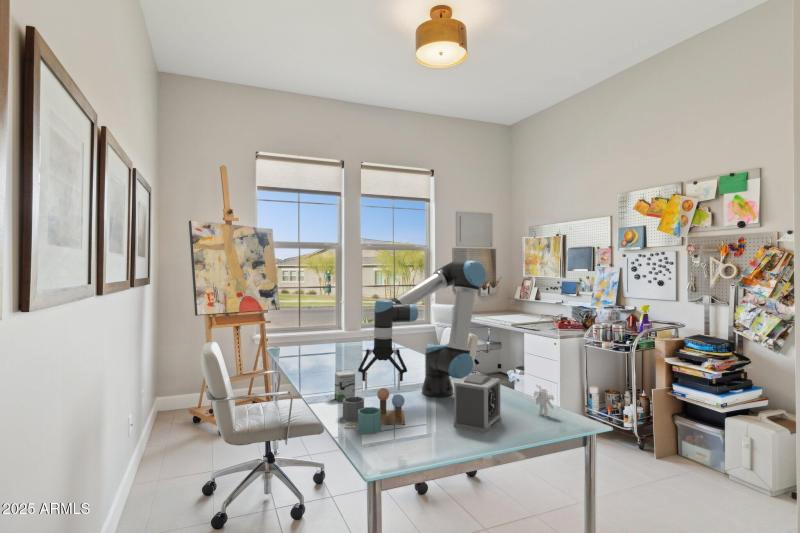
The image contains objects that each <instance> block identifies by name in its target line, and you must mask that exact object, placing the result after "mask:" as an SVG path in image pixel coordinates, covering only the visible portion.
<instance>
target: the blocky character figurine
mask: <svg viewBox="0 0 800 533" xmlns="http://www.w3.org/2000/svg"><path fill="white" fill-rule="evenodd" d="M535 386H536V388H538V389H539V390H534V391H533V396H534V398H535V405H539V411H538V415H539V416H543V417H550V414H549V410H548V409H549V408H551V410H553V409H554V405H553V404H552V403H551V400H552V402H553V401H555V397H554V395H553V394H552V393H550V394H549V393H548V392H549V391H548V390H547V388H545V387H542V386H539V385H538V384H535ZM548 406H549V407H548Z"/></svg>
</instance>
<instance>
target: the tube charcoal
mask: <svg viewBox="0 0 800 533" xmlns="http://www.w3.org/2000/svg"><path fill="white" fill-rule="evenodd" d="M361 408H365V398H364V397H361V396H355V397H347V398H344V399H343V400H342V419H343V420H345V421H348V422H350V421H355V422H356V421H357V422H358V410H359V409H361Z"/></svg>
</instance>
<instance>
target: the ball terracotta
mask: <svg viewBox="0 0 800 533" xmlns="http://www.w3.org/2000/svg"><path fill="white" fill-rule="evenodd" d="M376 393H377V394H376V396H377V398H378V400H379V401H380V400H382V401H385V400H386V401H387V400H388V399H389V397H390V391H389V390H388V389H387V388H386V387H382V388H379V389H378V390H377V392H376Z"/></svg>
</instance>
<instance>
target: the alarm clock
mask: <svg viewBox="0 0 800 533" xmlns="http://www.w3.org/2000/svg"><path fill="white" fill-rule="evenodd" d="M453 394H454V396H453V397H454V399H453V404H454V405H453V406H454V407H453V410H454V411H453V418H454V419H453V422H452V423H453V424H452V425H453V427H454V428H456V429H460V430H465V431H469V432H474V433H480V434H488V433H489V431H490V430H491V429H490V428H491V425H492V424H494V423H499V422H500V421H501V420H502V415H501V378H497V377H491V376H488V375H483V374H481V375H480V374H476V373H470V374H469V375H467V376H466V377H464V378H462V379H457V380H456V381H454V382H453Z"/></svg>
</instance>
